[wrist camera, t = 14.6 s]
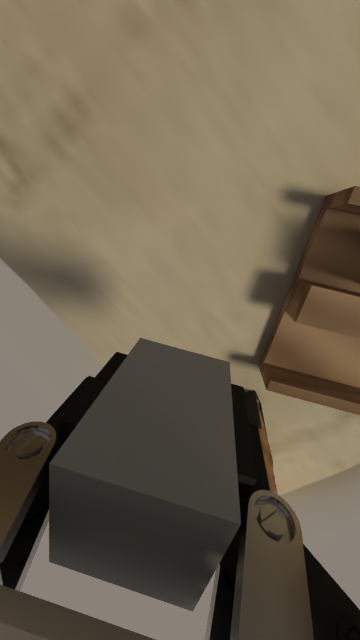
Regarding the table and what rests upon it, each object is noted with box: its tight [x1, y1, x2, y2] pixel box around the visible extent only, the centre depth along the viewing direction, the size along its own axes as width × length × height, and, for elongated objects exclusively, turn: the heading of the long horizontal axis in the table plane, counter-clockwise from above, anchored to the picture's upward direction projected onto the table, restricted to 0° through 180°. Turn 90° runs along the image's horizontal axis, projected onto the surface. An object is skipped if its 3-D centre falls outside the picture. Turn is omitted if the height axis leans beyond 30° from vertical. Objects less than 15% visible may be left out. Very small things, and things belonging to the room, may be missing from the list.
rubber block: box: [49, 338, 241, 611], centre depth 8 cm, size 4×4×6 cm
